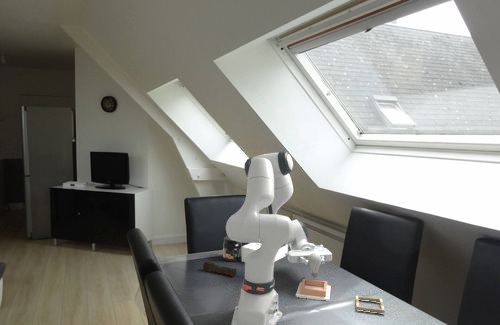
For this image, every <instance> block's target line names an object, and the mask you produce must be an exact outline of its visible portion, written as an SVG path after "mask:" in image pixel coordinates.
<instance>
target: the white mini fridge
mask: <svg viewBox="0 0 500 325" xmlns="http://www.w3.org/2000/svg"><path fill="white" fill-rule="evenodd" d="M261 245H262V244H261V243H260V239H259V243H247V244H245V245H242V252H241V256H242V257H241V262H242V263H245V259H246V256H247V255H248V254H249V253H251V252H252V251H255V250H257V249H258V248H260V247H261ZM288 251H289V244H287V245H285V246H283V247H281V248H280V249H279V251H278V252H277V254H276V257H275V261H274V263H275V262H277V261H280V260H281V259H283V258H285V257H287V256H286V255H285V253H287V252H288Z"/></svg>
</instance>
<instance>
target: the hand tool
mask: <svg viewBox="0 0 500 325" xmlns="http://www.w3.org/2000/svg"><path fill="white" fill-rule="evenodd" d="M202 269H203V270H204V271H205V272H206V271H207V272H210V273H213V272H214V273H219V274H222V275H226V276H229V277H231V278H234V277H235V276H237V268H231V267H228V266H222V265H218V264H215V262H211V261H205V262H204V263H203V265H202Z"/></svg>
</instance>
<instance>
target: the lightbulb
mask: <svg viewBox="0 0 500 325" xmlns="http://www.w3.org/2000/svg"><path fill="white" fill-rule="evenodd" d="M308 260H309V264H308V266H309V267H310V272H311V277H312V278H313V279H316V278H317V277H318V273H319V269H320V266H321V262H322V259H321V256H320V255H319V254H317V253H312V254H310V255H309V256H308Z"/></svg>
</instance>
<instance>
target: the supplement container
mask: <svg viewBox="0 0 500 325" xmlns="http://www.w3.org/2000/svg"><path fill="white" fill-rule="evenodd" d="M242 246H243V243H242V242H237V241H233V240H231V239H230V238H229V237H228V235H226V236H225V237H224V238H223V244H222V248H223V249H222V259H223V260H224V261H225V262H226V261H227V262H239V261H241V260H242Z"/></svg>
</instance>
